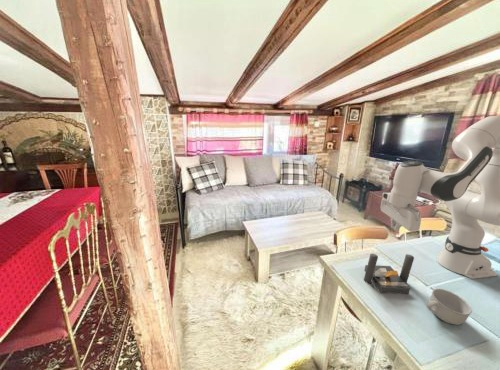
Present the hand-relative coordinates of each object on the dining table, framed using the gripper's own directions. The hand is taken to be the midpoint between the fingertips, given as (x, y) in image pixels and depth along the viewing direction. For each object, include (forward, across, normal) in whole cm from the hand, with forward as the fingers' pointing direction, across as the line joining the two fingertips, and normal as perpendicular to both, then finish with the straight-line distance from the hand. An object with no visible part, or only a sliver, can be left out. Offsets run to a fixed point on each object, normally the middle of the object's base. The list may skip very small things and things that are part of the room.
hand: (394, 229), depth 88 cm
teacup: (+26, -19, -11) cm, 34 cm away
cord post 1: (+26, -2, +8) cm, 27 cm away
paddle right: (+23, -2, +5) cm, 24 cm away
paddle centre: (+23, -2, 0) cm, 23 cm away
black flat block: (+26, -2, 0) cm, 26 cm away
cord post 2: (+26, -2, -8) cm, 27 cm away
